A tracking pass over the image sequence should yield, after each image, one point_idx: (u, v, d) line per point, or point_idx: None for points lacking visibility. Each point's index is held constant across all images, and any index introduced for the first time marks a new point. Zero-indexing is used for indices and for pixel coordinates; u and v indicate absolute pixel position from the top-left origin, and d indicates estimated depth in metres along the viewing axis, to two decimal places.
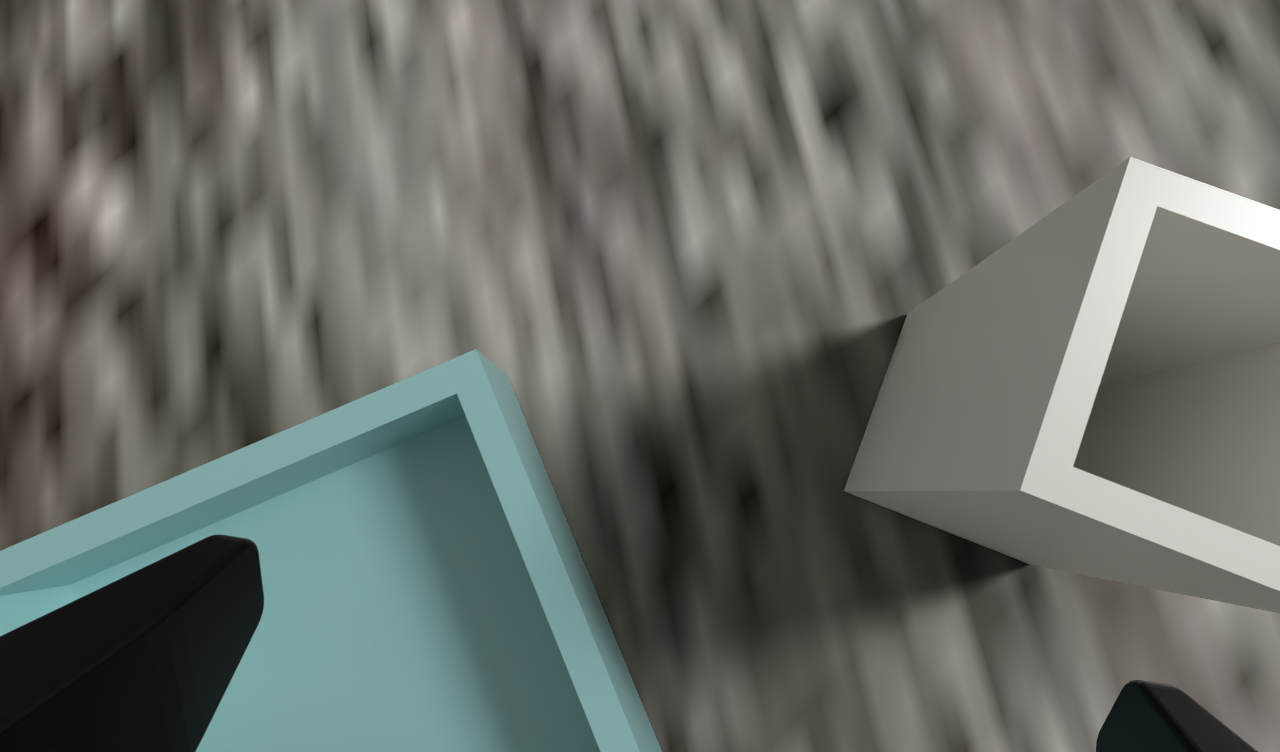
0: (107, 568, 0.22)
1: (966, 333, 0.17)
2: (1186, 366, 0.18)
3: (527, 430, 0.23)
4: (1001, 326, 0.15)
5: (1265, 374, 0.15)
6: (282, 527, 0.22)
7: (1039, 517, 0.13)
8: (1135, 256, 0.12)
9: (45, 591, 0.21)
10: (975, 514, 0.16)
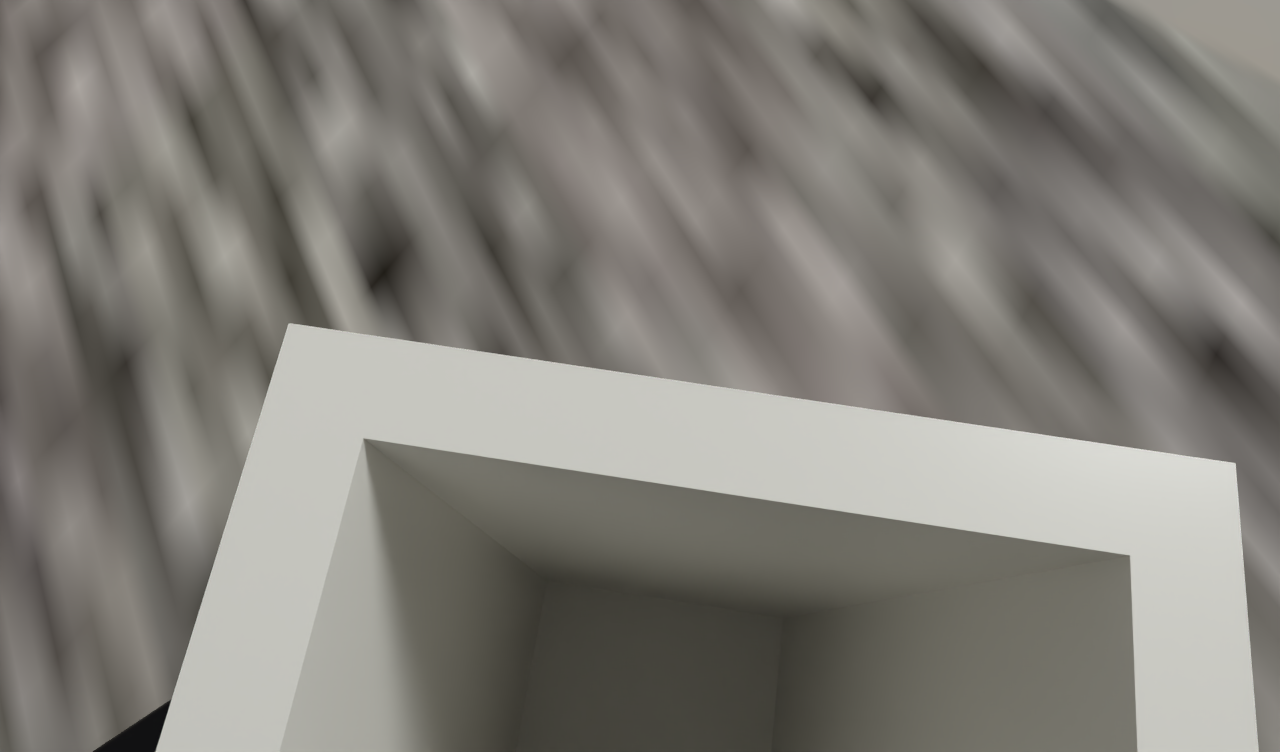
0: None
1: None
2: (857, 606, 0.10)
3: None
4: None
5: (924, 662, 0.07)
6: None
7: None
8: (297, 599, 0.04)
9: None
10: None
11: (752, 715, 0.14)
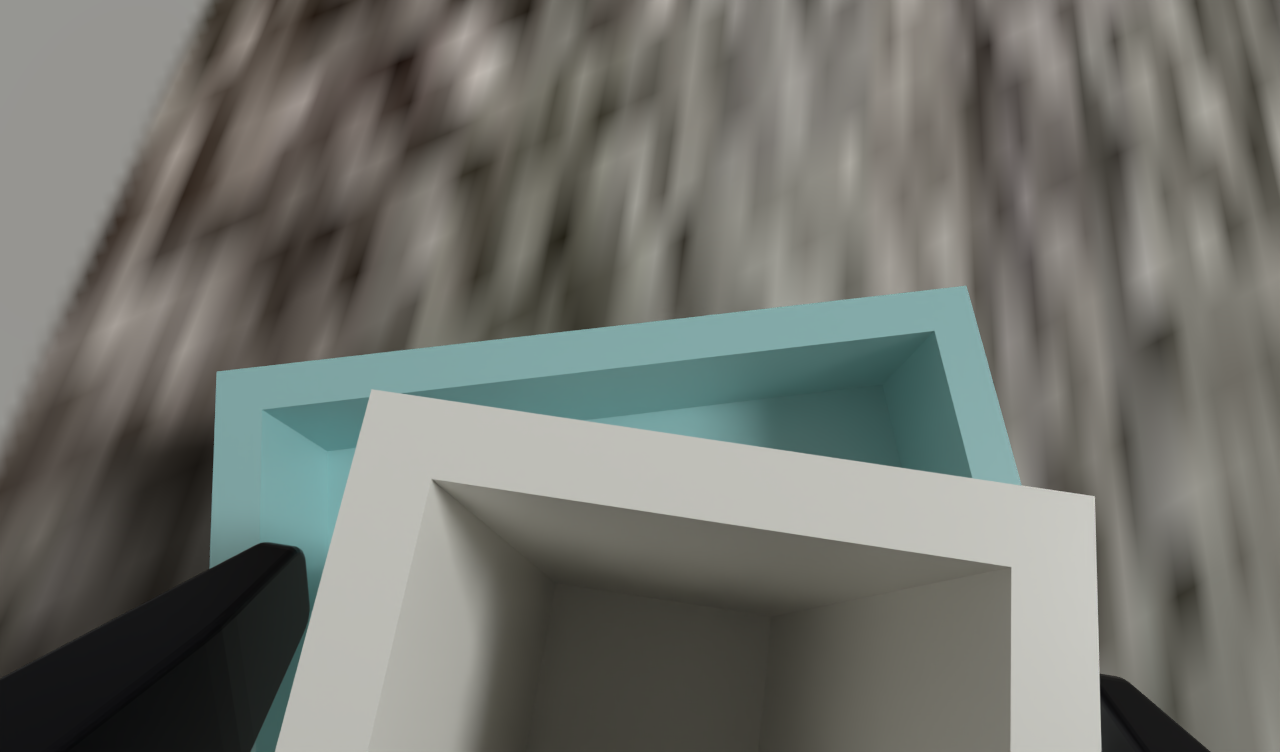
0: None
1: None
2: (830, 605, 0.11)
3: None
4: None
5: (878, 652, 0.09)
6: None
7: None
8: (386, 602, 0.06)
9: (310, 444, 0.16)
10: None
11: (742, 704, 0.15)
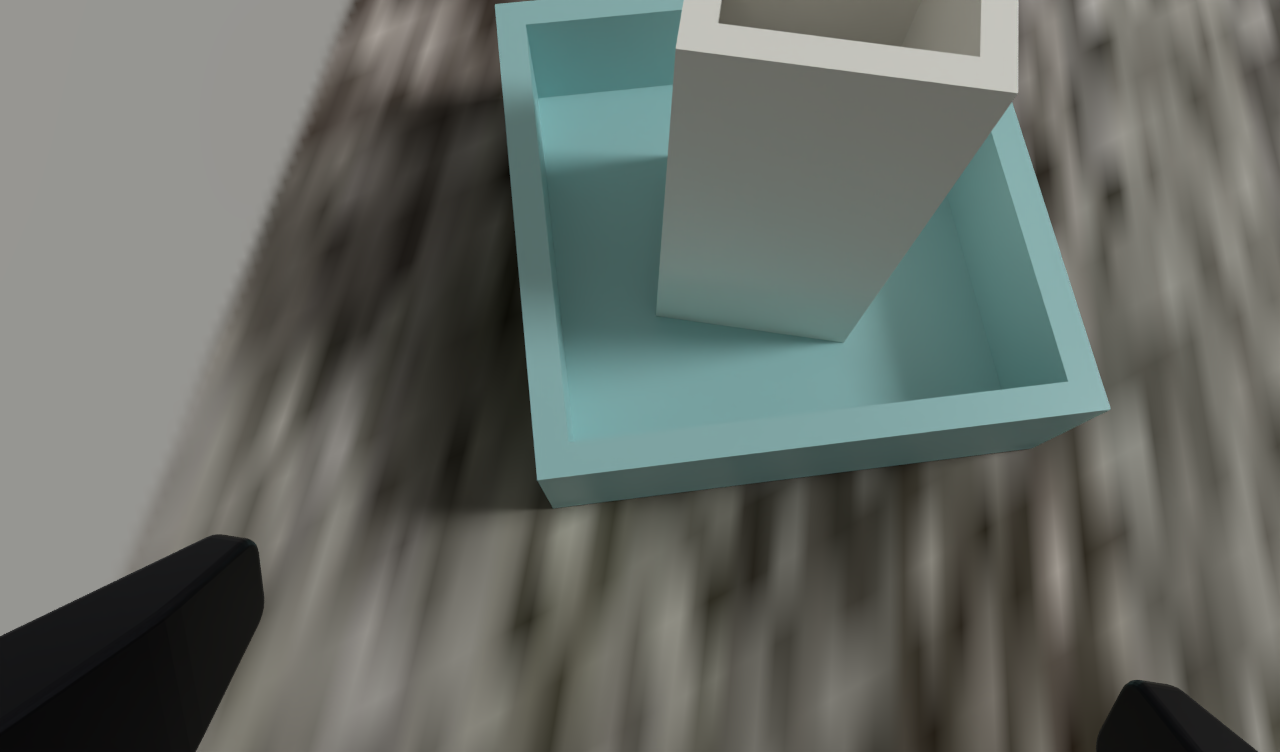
0: (573, 93, 0.26)
1: None
2: None
3: None
4: None
5: (922, 19, 0.17)
6: None
7: (735, 127, 0.15)
8: None
9: (535, 80, 0.25)
10: (722, 211, 0.17)
11: None
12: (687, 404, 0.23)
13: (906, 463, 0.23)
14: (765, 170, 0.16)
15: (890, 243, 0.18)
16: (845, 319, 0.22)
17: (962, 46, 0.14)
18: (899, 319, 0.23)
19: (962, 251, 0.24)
